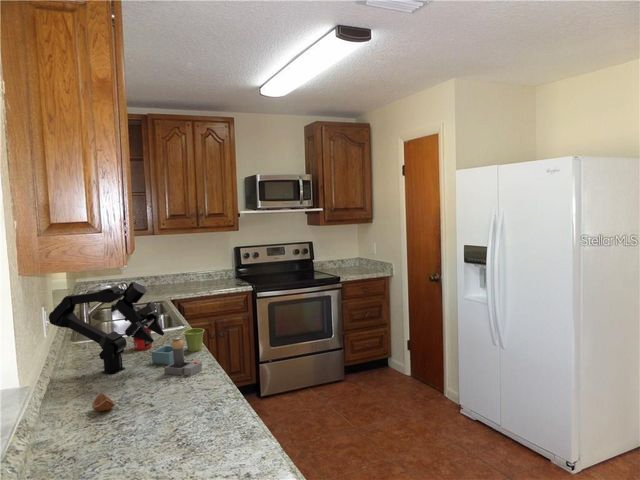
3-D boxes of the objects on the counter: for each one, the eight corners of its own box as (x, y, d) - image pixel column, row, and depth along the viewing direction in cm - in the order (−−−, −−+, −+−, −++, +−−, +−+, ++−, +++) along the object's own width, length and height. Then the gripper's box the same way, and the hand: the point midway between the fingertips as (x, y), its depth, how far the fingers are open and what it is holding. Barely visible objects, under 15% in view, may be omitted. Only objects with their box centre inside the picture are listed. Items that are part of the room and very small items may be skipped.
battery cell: (180, 373, 186) (178, 339, 184) (172, 372, 187) (169, 339, 186) (187, 369, 189) (184, 336, 188) (178, 368, 191) (176, 336, 190)
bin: (169, 365, 196) (168, 353, 195) (152, 363, 199) (151, 351, 198) (183, 358, 204) (182, 346, 203) (166, 356, 207) (165, 345, 207)
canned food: (148, 350, 217) (146, 326, 217) (131, 351, 218) (129, 327, 217) (154, 345, 225) (153, 322, 224) (138, 346, 225) (136, 323, 224)
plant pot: (208, 346, 220) (207, 328, 219) (201, 353, 210) (200, 333, 210) (188, 346, 221) (187, 328, 220) (181, 353, 211) (179, 334, 211)
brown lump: (117, 411, 153) (116, 396, 152) (95, 418, 149) (93, 402, 149) (112, 403, 160) (111, 389, 159) (90, 409, 156) (89, 394, 155)
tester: (190, 376, 182) (189, 366, 181) (164, 373, 186) (164, 364, 186) (202, 369, 189) (202, 360, 189) (177, 366, 193) (177, 357, 193)
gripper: (130, 301, 178) (160, 330, 178) (153, 292, 197) (180, 317, 196) (112, 322, 180) (142, 351, 179) (136, 311, 198) (163, 336, 198)
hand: (158, 338), depth 188 cm, fingers open, 9 cm apart
